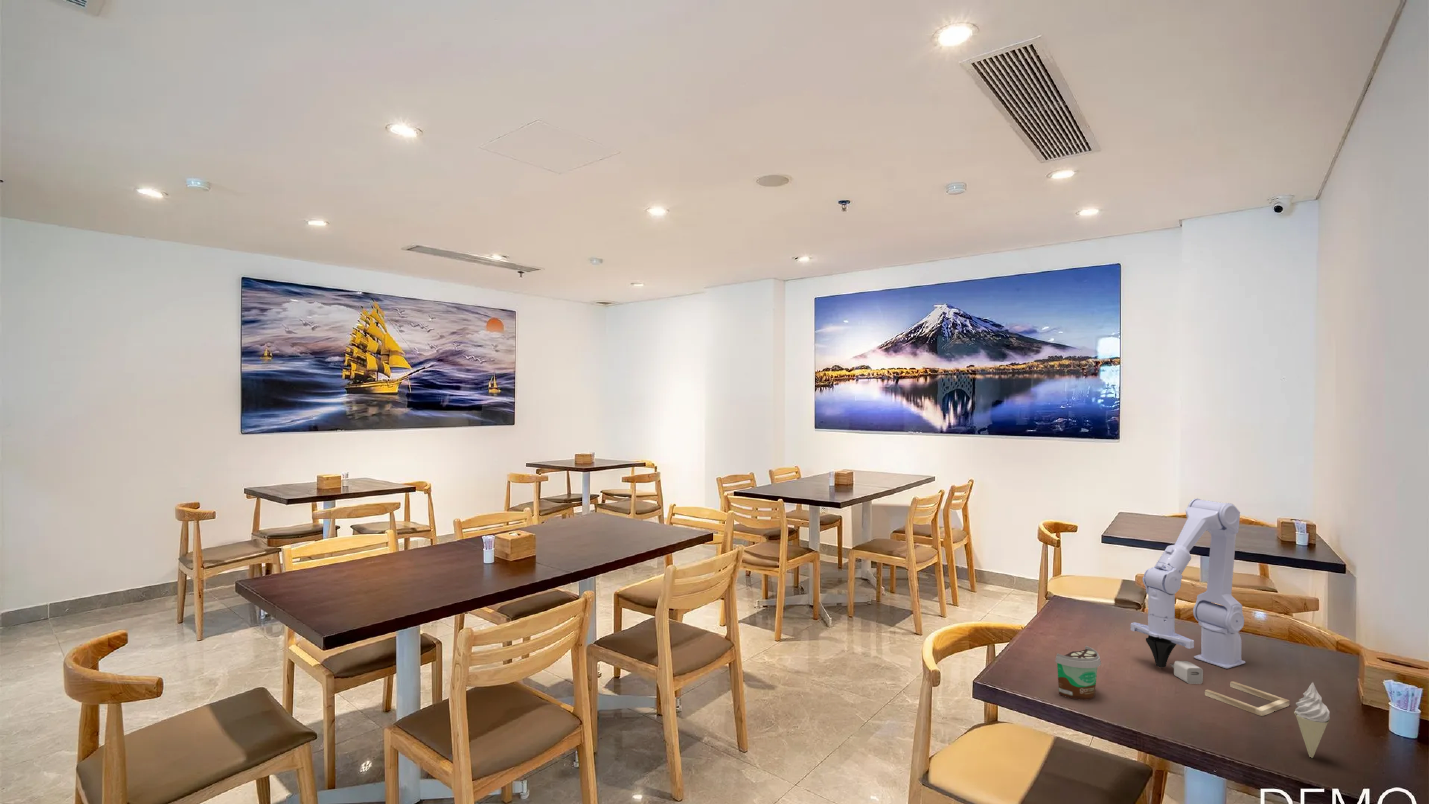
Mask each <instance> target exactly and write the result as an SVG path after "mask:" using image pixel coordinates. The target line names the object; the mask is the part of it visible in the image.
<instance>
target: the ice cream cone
mask: <svg viewBox="0 0 1429 804" xmlns="http://www.w3.org/2000/svg"><path fill="white" fill-rule="evenodd" d="M1302 695H1303V697H1302V698H1299V699H1298V701H1297V702H1295V705H1296V706H1297V707H1296V708H1295V709H1294V710H1295V711H1294V712H1293V713H1294V715H1295V717H1296V720H1297V723H1298V727H1299V730H1300V733H1301V735H1302V738H1303V741H1304V742H1303V743H1305V744H1304V745H1305V747H1306V750H1307V753H1308V756H1309V758H1310V757H1311V759H1313V758H1314V756H1315V754H1316V751H1317V749H1318V748H1319V744H1320V742H1321V739H1322V738H1323V735H1324V732H1325V730H1326V727H1327V725H1328V724H1329V722H1330V719H1331V717H1330V712H1331V711H1330V710H1329V709H1328V706H1327V705H1326V704H1324V703H1323V701H1322V698H1323V697H1322V696H1321V695H1320V694H1319V692H1318V690H1317V688H1316V686H1315V684H1314V682H1313V681H1312V682H1311V683H1310V685H1309V687H1308V688H1307V689H1306V690H1305V692H1303V693H1302Z"/></svg>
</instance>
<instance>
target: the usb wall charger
mask: <svg viewBox="0 0 1429 804" xmlns="http://www.w3.org/2000/svg"><path fill="white" fill-rule="evenodd" d="M1170 667H1171V668H1173V674H1174V676H1175V677H1176V678H1178V679H1180V680H1182V681H1183V682H1185V683H1187V684H1190V685H1192V684H1193V685H1194V684H1195V685H1196V684H1197V685H1201V684H1202V683H1203V682H1204V681H1203V680H1204V678H1203V677H1204V676H1203V675H1204V669H1203V668H1201V667H1199V666H1197V665H1196V664H1194V663H1192V662H1191V661H1187V660H1175V661H1174V663H1173V664H1172V663H1170Z"/></svg>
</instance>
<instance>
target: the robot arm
mask: <svg viewBox="0 0 1429 804" xmlns="http://www.w3.org/2000/svg"><path fill="white" fill-rule="evenodd" d="M1185 515H1186V521H1185V522H1184V525H1183V527H1182V529H1181V531H1180V533H1179V535H1178V537H1177V539H1176V541H1175V543H1174V544H1171V545H1167V546H1166V548H1165V550H1163V552H1162V554H1161V556H1160V557H1159V558H1158V560H1157V562H1156V563H1155V565H1154V566H1152V567H1150V568H1148V569H1146V570H1145V572H1144V574H1143V577H1142V583H1143V585H1144V587H1145V593H1146V594H1147V595H1148V596H1147V598H1148V600H1147V624H1143V623H1139V622H1135V621H1134V622H1131V623H1130V631H1132V632H1138V633H1141V634H1144V635H1147V636H1148V637H1145V642H1146V643H1147V645H1148V647H1149V649H1150V650H1151V653H1152V656H1153V659H1154V662H1155V667H1158V668H1161V669H1163V668H1165V667H1167V663H1168V660H1169V658H1170V656H1171V653H1172V651H1173V650H1174V648H1175V647H1176V646H1177V645H1178V646H1182V647H1185V648H1186V649H1188V650H1191V649H1194V648H1195V640H1194V639H1191V638H1188V637H1186V636H1184V635H1182V634H1179V633H1177V632H1175V628H1176V627H1175V626H1176V625H1175V622H1176V621H1175V619H1176V616H1175V615H1176V613H1175V612H1176V611H1175V608H1176V597H1175V596H1176V594H1177V592H1179V591H1180V589H1181V586H1182V579H1183V575H1182V574H1183V573H1184V571H1185V569H1186V567H1188V565H1189V563H1190V562H1191V560H1192V556H1191V554H1190V551H1192V549H1193V548H1194V546H1196V544H1197V542H1198V541H1199V540H1200V539H1201V537H1202V536H1203V535H1204V534H1205V532H1206V531H1207V532H1208V533H1209V534H1210V545H1209V557H1208V558H1209V559H1208V569H1207V570H1208V571H1207V583H1206V584H1207V585H1206V591H1204V592H1201V593H1199V594H1197V596H1196V601H1195V603H1194V606H1193V609H1192V613H1193V617H1194V618H1195V620H1196V621H1197V622H1198V626H1201V627H1200V628H1201V629H1200V630H1201V633H1200V635H1201V639H1200V643H1201V644H1200V645H1201V648H1200V650H1201V651H1200V652H1201V653H1200V654H1197V655H1193V658H1194V659H1196V660H1199V661H1202V662H1205V663H1208V664H1212V665H1214V666H1217V667H1221V668H1223V669H1231V668H1234V667H1238V666H1240V665H1244V664H1246V660H1242V637H1241V635H1240V633H1239V632H1240V631H1241V630H1242V629H1243V627H1244V625H1245V616H1244V614H1243V604H1242V603H1240V601H1238V600H1237V599H1236V598H1235V597H1234V596H1233V595H1232V594H1233V593H1232V592H1233V591H1232V590H1233V578H1234V565H1235V552H1236V541H1237V539H1236V538H1237V534H1239V532H1240V531H1239V529H1240V518H1241V512H1240V510H1239V509H1238V508H1237V506H1235V504H1233V503H1230V502H1222V501H1220V502H1219V501H1213V500H1206V499H1200V498H1193V499H1192V500H1190V502H1189V503H1188V505H1187V507H1186V509H1185Z"/></svg>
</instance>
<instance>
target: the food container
mask: <svg viewBox="0 0 1429 804" xmlns="http://www.w3.org/2000/svg"><path fill="white" fill-rule="evenodd" d="M1101 661H1102V660H1101V657H1100V654H1099V652H1098V651H1097V650H1095V648H1092V647H1090V646H1088V645H1085V647H1084V649H1083V650H1077V651H1076V650H1075V651H1071V652H1068V653H1066V654H1061V653H1056V656H1055V663H1056V664H1057V665H1056V666H1057V667H1056V668H1057V681H1058V682H1057V683H1058V695H1059V694H1060V696H1062V697H1065V696H1066V697H1065V698H1068V697H1069V698H1068V699H1073V700H1078V699H1080V701H1089V700H1092V699H1095V696H1096V695H1095V694H1096V688H1097V687H1096V686H1097V675H1098V668H1099V667H1100V666H1101V664H1102V662H1101Z"/></svg>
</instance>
